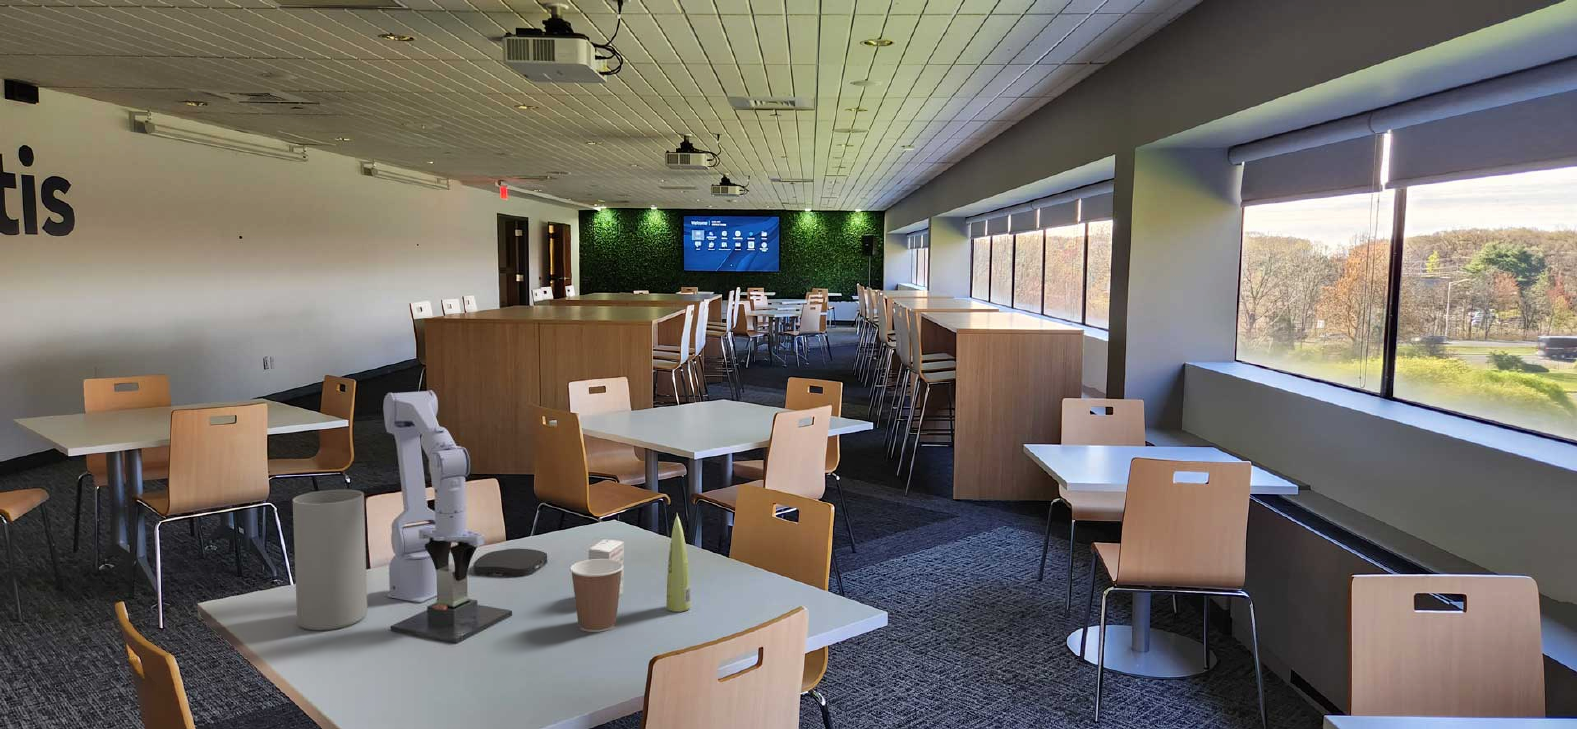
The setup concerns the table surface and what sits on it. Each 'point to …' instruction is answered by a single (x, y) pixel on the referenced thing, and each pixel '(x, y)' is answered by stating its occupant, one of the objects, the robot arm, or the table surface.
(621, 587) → the ink box
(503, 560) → the media streaming box
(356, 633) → the table surface
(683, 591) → the tube
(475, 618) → the stand
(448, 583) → the column
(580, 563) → the coffee cup
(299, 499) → the cylinder vase
